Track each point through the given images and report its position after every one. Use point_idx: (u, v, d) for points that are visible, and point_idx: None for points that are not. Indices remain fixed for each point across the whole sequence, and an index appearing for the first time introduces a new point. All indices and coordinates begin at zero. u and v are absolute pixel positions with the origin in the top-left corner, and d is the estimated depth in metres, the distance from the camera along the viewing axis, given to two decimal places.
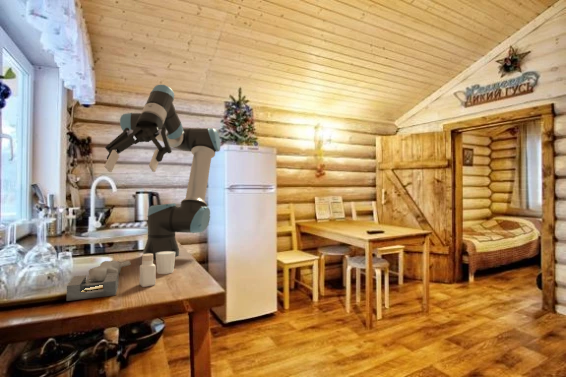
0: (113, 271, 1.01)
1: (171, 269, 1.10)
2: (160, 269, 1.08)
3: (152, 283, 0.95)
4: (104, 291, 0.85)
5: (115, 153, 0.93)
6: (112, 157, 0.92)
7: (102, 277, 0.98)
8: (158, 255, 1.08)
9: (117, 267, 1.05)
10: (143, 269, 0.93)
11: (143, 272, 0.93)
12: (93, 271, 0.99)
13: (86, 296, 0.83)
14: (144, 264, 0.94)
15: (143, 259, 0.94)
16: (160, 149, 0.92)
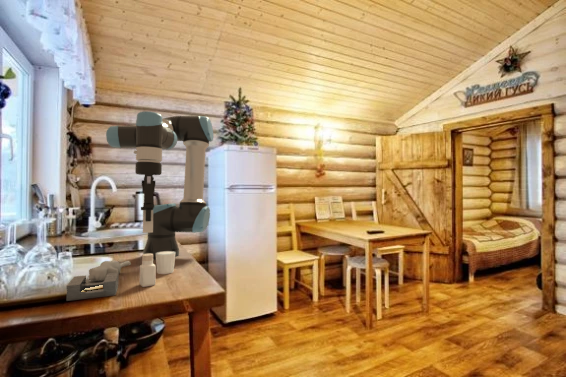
0: (113, 271, 1.01)
1: (171, 269, 1.10)
2: (160, 269, 1.08)
3: (152, 283, 0.95)
4: (104, 291, 0.85)
5: None
6: None
7: (102, 277, 0.98)
8: (158, 255, 1.08)
9: (117, 267, 1.05)
10: (143, 269, 0.93)
11: (143, 272, 0.93)
12: (93, 271, 0.99)
13: (86, 296, 0.83)
14: (144, 264, 0.94)
15: (143, 259, 0.94)
16: (144, 209, 0.88)
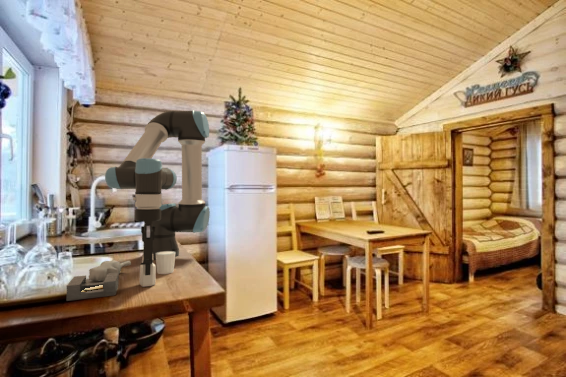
0: (113, 271, 1.01)
1: (171, 269, 1.10)
2: (160, 269, 1.08)
3: (152, 283, 0.95)
4: (104, 291, 0.85)
5: None
6: None
7: (102, 277, 0.98)
8: (158, 255, 1.08)
9: (117, 267, 1.06)
10: None
11: None
12: (93, 271, 0.99)
13: (86, 296, 0.83)
14: None
15: (143, 259, 0.94)
16: None
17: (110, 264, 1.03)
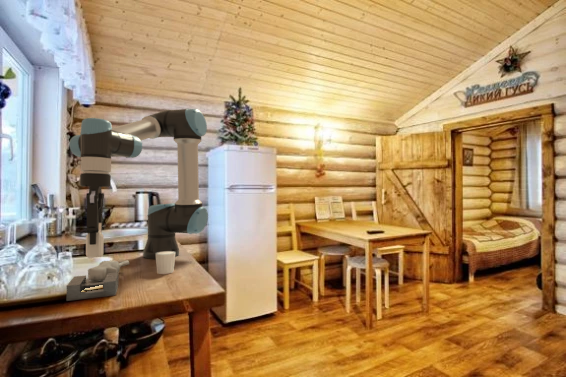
0: (113, 270, 1.01)
1: (171, 269, 1.10)
2: (160, 269, 1.08)
3: (99, 254, 0.87)
4: (104, 291, 0.85)
5: None
6: None
7: (102, 276, 0.98)
8: (158, 255, 1.08)
9: (116, 267, 1.06)
10: None
11: None
12: (93, 271, 0.99)
13: (86, 296, 0.83)
14: None
15: None
16: None
17: (109, 264, 1.04)
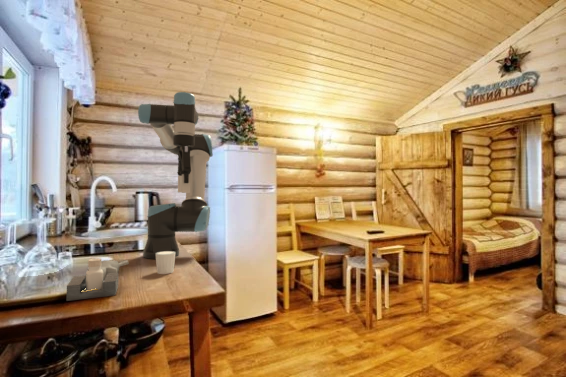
0: (112, 270, 1.02)
1: (171, 269, 1.10)
2: (160, 269, 1.08)
3: None
4: (104, 291, 0.85)
5: (180, 177, 1.19)
6: (179, 182, 1.19)
7: None
8: (158, 255, 1.08)
9: (116, 266, 1.06)
10: (88, 276, 0.86)
11: (88, 279, 0.86)
12: None
13: (86, 296, 0.83)
14: (90, 270, 0.87)
15: (89, 265, 0.87)
16: (183, 173, 1.06)
17: (109, 263, 1.04)
